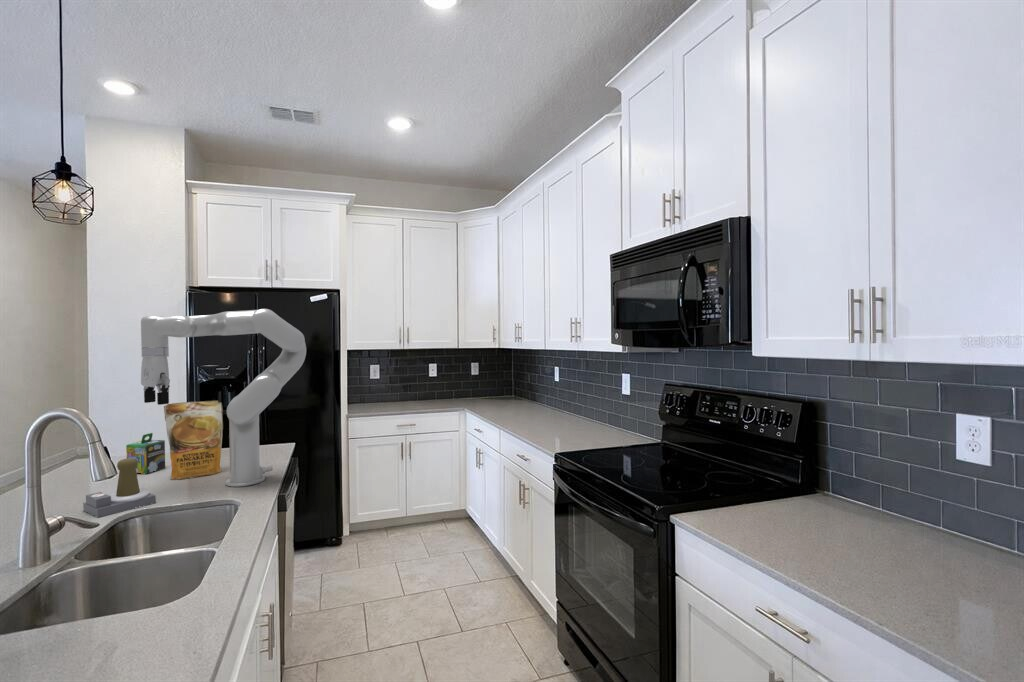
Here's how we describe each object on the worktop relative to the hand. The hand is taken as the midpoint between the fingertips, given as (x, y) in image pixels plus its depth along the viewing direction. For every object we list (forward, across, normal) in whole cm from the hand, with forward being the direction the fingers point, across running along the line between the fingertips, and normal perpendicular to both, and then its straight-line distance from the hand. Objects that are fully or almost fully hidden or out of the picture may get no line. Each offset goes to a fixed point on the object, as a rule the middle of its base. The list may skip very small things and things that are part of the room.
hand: (156, 403), depth 171 cm
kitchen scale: (+30, +6, -13) cm, 34 cm away
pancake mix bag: (+31, -11, +17) cm, 37 cm away
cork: (+27, +6, -11) cm, 30 cm away
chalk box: (+31, -35, +10) cm, 48 cm away
